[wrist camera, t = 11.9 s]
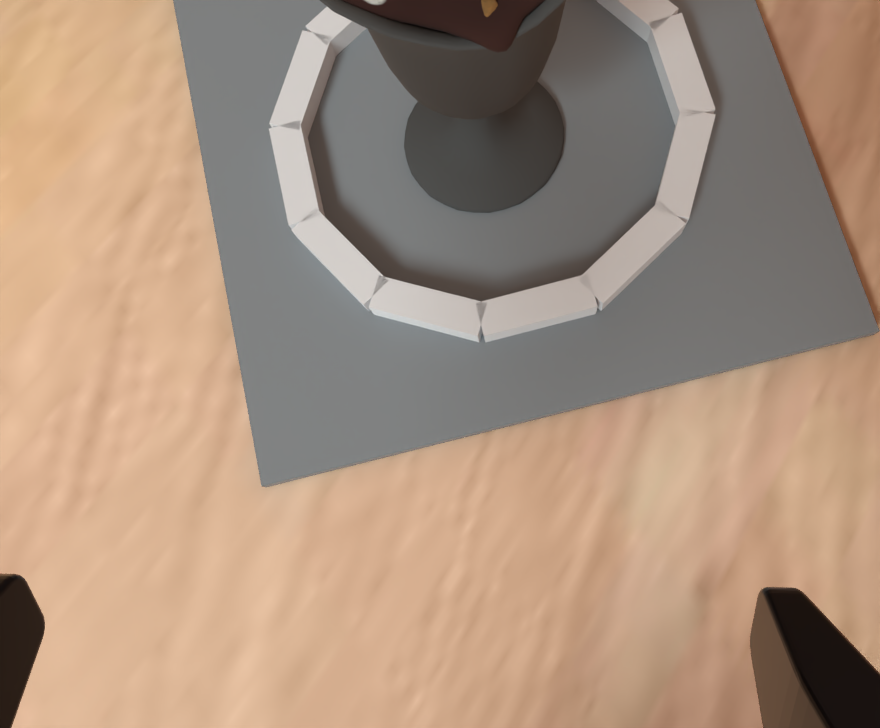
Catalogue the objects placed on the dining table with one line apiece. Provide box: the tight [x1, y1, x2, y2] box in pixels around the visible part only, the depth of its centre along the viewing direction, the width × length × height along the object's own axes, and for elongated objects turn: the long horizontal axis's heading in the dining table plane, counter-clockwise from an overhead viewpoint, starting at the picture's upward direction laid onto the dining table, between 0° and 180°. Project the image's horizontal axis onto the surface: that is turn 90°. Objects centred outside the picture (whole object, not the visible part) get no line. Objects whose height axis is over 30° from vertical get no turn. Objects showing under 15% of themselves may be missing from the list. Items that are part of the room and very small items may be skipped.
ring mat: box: [173, 0, 879, 487], centre depth 25 cm, size 18×18×1 cm
